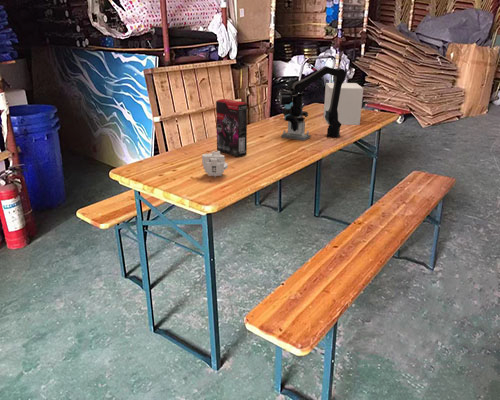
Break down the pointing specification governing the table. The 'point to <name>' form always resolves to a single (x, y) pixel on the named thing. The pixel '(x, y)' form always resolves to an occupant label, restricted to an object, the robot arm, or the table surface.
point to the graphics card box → (231, 127)
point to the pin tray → (296, 136)
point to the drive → (299, 129)
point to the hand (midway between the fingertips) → (296, 130)
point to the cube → (346, 103)
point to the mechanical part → (214, 163)
